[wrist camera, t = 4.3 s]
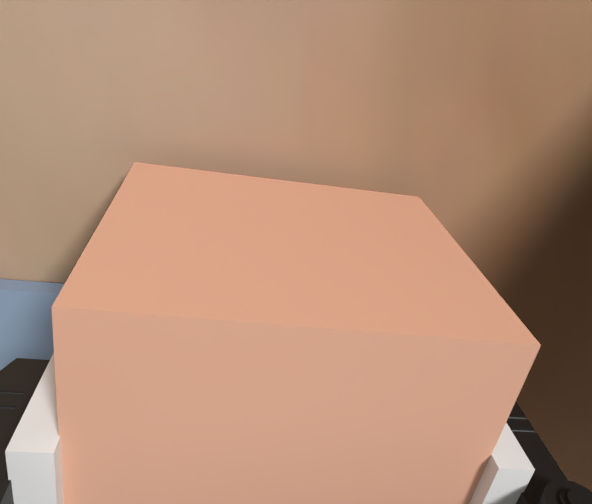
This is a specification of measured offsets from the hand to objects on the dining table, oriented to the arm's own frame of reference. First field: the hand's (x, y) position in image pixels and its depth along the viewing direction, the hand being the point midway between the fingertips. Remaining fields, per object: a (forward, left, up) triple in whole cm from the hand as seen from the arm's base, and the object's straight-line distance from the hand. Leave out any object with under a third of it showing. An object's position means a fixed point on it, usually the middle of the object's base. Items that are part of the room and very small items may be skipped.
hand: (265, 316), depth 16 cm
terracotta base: (0, 0, -1) cm, 1 cm away
